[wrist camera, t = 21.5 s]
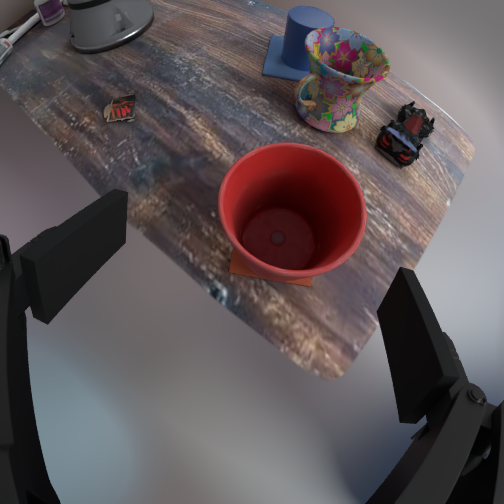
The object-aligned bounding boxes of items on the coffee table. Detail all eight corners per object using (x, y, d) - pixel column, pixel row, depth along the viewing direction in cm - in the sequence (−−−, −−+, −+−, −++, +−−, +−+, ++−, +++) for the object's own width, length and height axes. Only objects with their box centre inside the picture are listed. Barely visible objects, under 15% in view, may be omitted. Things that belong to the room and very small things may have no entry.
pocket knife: (24, 28, 43) (27, 23, 43) (23, 26, 42) (26, 21, 42) (-14, 46, 42) (-11, 41, 43) (-16, 44, 42) (-13, 39, 42)
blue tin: (283, 43, 40) (290, 2, 32) (322, 51, 40) (334, 11, 32) (278, 66, 38) (286, 22, 31) (321, 75, 38) (334, 32, 31)
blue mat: (271, 36, 41) (271, 34, 41) (334, 49, 41) (335, 47, 41) (262, 75, 38) (262, 73, 38) (334, 89, 38) (335, 87, 38)
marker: (65, -2, 46) (62, -9, 43) (70, -2, 46) (67, -9, 43) (9, 45, 41) (5, 38, 39) (13, 45, 41) (9, 38, 39)
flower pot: (247, 178, 33) (252, 121, 24) (343, 218, 33) (380, 174, 23) (204, 269, 31) (191, 238, 21) (310, 313, 30) (343, 300, 21)
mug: (323, 77, 39) (342, 19, 29) (373, 119, 37) (404, 65, 27) (259, 113, 36) (266, 47, 26) (313, 163, 35) (338, 102, 25)
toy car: (367, 144, 36) (379, 125, 32) (404, 101, 39) (415, 84, 35) (405, 175, 35) (421, 159, 31) (436, 128, 38) (449, 112, 34)
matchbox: (135, 92, 37) (134, 90, 36) (141, 118, 35) (140, 116, 35) (102, 104, 36) (101, 102, 35) (106, 131, 35) (105, 129, 34)
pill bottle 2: (70, 11, 44) (58, -21, 34) (55, 26, 42) (41, -7, 33) (54, 13, 44) (42, -17, 35) (39, 27, 42) (25, -3, 33)
